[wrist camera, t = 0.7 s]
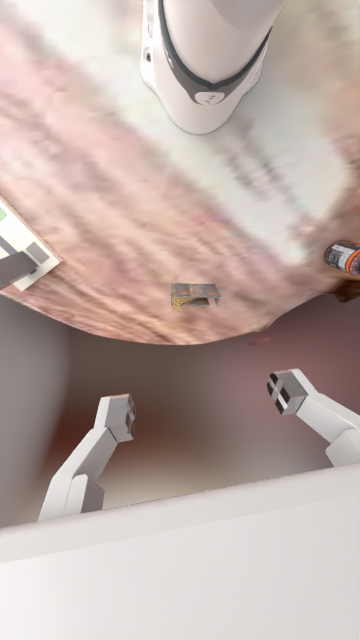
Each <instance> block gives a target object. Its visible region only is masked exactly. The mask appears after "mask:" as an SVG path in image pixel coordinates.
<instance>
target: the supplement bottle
mask: <svg viewBox="0 0 360 640" xmlns="http://www.w3.org/2000/svg"><path fill="white" fill-rule="evenodd" d="M324 258H325V262H326V263H327V264H329V265H331V266H333V267H335V268H338V269H340V270H342V271H344V272H346V273H349V274H351V275H354V276H360V244H357V243H354V242H350V241H345V240H341V241H337V242H335V243H334V244H332V245H331V246H330V247H329V248H328V249H327V251H326V253H325V257H324Z"/></svg>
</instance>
